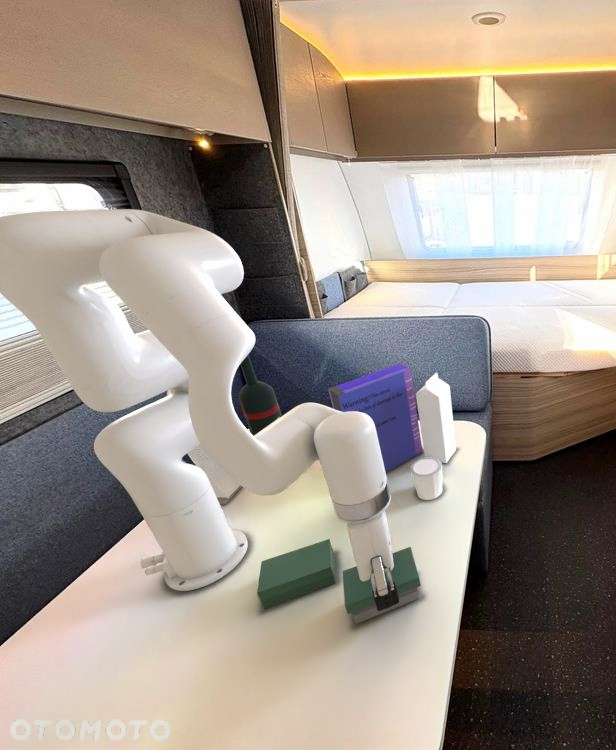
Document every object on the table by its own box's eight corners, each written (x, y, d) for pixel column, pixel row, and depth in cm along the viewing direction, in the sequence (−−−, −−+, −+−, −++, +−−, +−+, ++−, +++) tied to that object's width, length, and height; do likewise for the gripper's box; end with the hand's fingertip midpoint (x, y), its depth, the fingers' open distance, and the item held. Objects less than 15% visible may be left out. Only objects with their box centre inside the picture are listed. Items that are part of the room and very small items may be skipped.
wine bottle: (271, 441, 107) (236, 339, 94) (299, 447, 104) (267, 342, 91) (246, 457, 100) (204, 350, 88) (275, 465, 97) (236, 354, 84)
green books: (264, 609, 63) (256, 593, 61) (268, 576, 68) (261, 561, 66) (336, 582, 66) (330, 566, 65) (334, 554, 72) (329, 538, 70)
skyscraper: (220, 479, 93) (175, 374, 81) (253, 478, 92) (212, 373, 80) (194, 504, 85) (139, 392, 73) (229, 504, 85) (180, 392, 73)
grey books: (355, 624, 60) (350, 607, 58) (353, 599, 64) (348, 583, 62) (419, 598, 63) (416, 582, 62) (413, 576, 67) (410, 560, 65)
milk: (425, 459, 97) (412, 381, 87) (435, 446, 102) (425, 370, 93) (447, 463, 95) (436, 384, 86) (457, 449, 100) (448, 372, 91)
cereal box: (412, 445, 103) (399, 362, 92) (422, 452, 100) (410, 367, 89) (350, 477, 92) (327, 388, 81) (360, 486, 88) (337, 394, 78)
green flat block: (347, 615, 57) (345, 606, 56) (344, 579, 63) (342, 570, 62) (420, 586, 61) (419, 577, 60) (412, 554, 66) (410, 546, 66)
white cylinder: (439, 503, 83) (435, 478, 80) (409, 500, 84) (404, 474, 81) (449, 482, 89) (446, 457, 86) (421, 479, 90) (417, 455, 87)
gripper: (331, 469, 60) (354, 547, 67) (336, 552, 45) (365, 641, 53) (380, 455, 63) (397, 532, 70) (400, 530, 48) (419, 617, 55)
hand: (383, 579), depth 61 cm, fingers open, 9 cm apart
